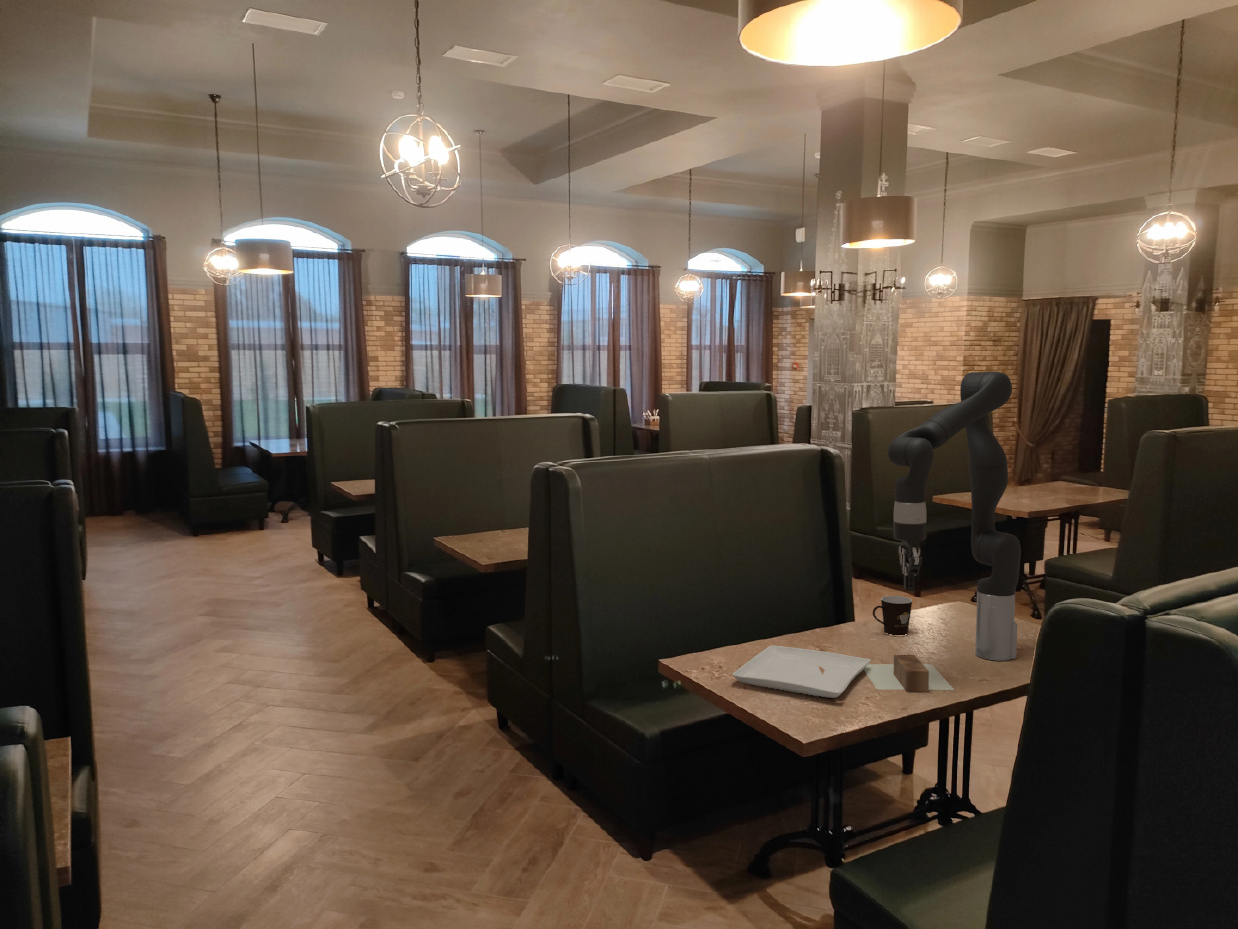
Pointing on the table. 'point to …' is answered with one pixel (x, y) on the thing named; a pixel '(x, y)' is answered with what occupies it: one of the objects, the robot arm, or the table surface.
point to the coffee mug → (895, 614)
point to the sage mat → (887, 681)
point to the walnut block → (911, 673)
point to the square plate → (801, 670)
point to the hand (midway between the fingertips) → (909, 589)
